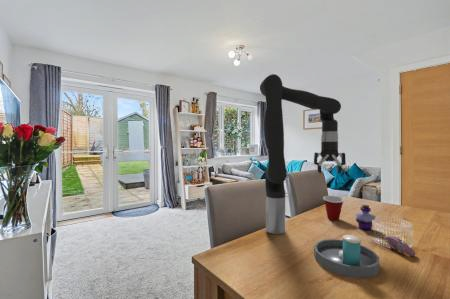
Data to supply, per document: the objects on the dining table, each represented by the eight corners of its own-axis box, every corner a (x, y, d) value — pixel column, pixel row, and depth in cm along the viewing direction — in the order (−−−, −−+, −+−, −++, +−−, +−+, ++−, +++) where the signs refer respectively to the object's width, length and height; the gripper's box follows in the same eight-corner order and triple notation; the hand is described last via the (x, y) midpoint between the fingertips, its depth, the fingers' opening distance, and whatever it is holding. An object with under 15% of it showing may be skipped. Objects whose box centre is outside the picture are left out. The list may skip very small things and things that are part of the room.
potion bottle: (354, 224, 118) (354, 202, 118) (373, 227, 114) (374, 204, 114) (356, 230, 110) (356, 206, 110) (376, 233, 106) (377, 208, 106)
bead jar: (344, 270, 75) (345, 240, 74) (340, 261, 80) (340, 234, 80) (362, 272, 73) (363, 242, 73) (357, 263, 79) (357, 235, 78)
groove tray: (320, 273, 74) (320, 263, 74) (310, 245, 95) (310, 237, 95) (391, 282, 70) (391, 271, 70) (365, 250, 90) (365, 241, 90)
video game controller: (386, 249, 94) (379, 235, 94) (395, 243, 95) (388, 229, 94) (408, 261, 85) (401, 245, 84) (417, 255, 85) (410, 239, 84)
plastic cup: (323, 220, 124) (323, 199, 123) (322, 214, 134) (322, 195, 133) (345, 223, 120) (345, 201, 119) (342, 217, 130) (343, 196, 129)
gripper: (315, 140, 109) (315, 174, 109) (347, 140, 105) (347, 174, 106) (313, 140, 116) (312, 172, 117) (343, 140, 113) (342, 172, 113)
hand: (329, 173), depth 111 cm, fingers open, 8 cm apart
